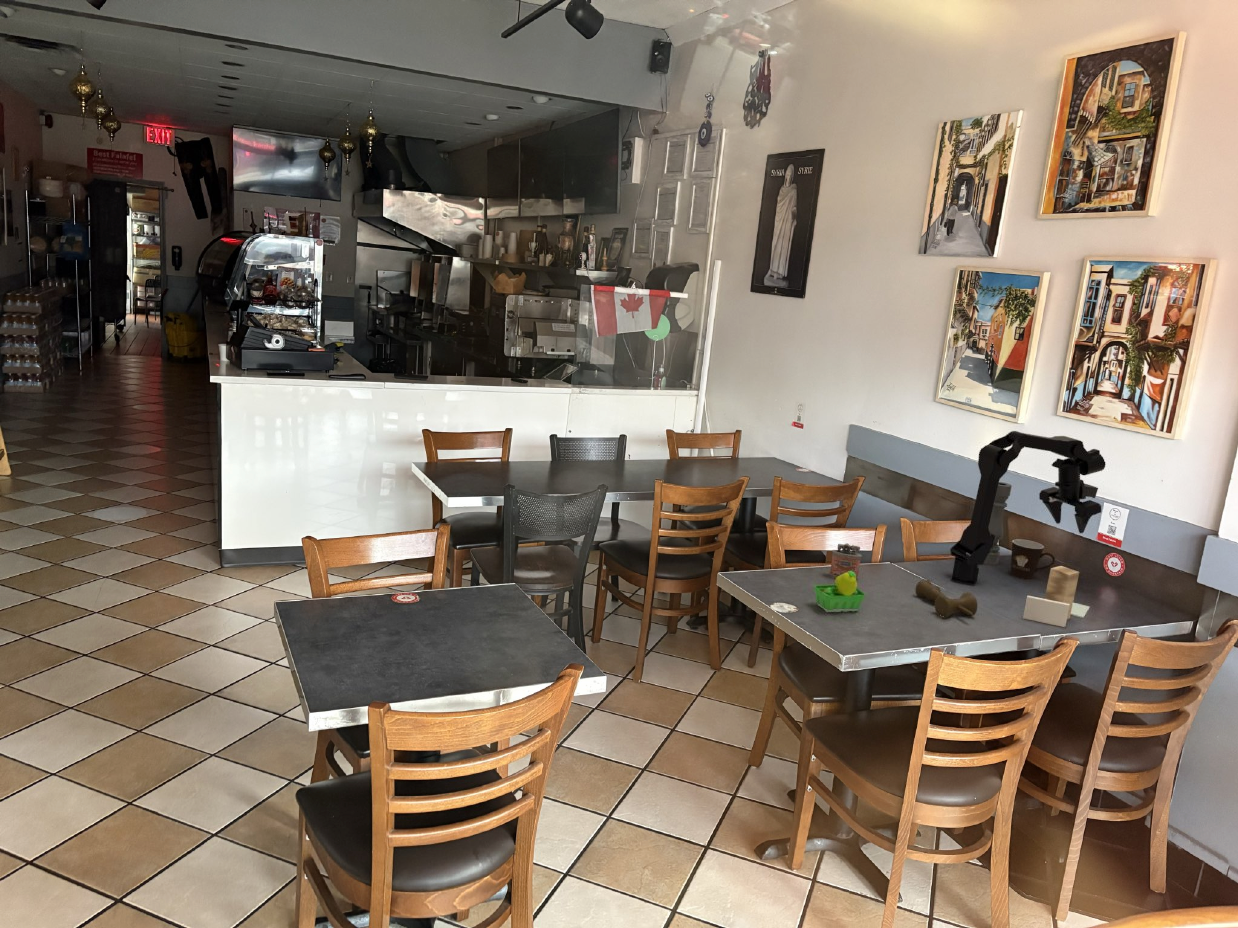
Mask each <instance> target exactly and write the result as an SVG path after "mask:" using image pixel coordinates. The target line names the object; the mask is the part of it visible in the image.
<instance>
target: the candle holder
mask: <svg viewBox="0 0 1238 928" xmlns="http://www.w3.org/2000/svg"><path fill="white" fill-rule="evenodd" d="M1011 491H1012V484H1011V483H1006V482H1001V481H999V484H998V488H997V492H996V497H995V501H994V506H993V510H992V515H991V519H990V523H989V531H990V533H992V534H994V535H995V539H994V541H993V549H991V550H990V553H989V554H988V555H987V557H986V559H985V561H984V563H983V565H990V566H996V565H998V564H999V560H1000V559H999V558H1000V554H1001V553H1000V549H1001V548H1000V546H999V543H1000V541H1001V540H1002V538H1003V537H1004V524H1003V517H1004V513H1005V509H1006V508H1007V506H1008V503H1006V502H1007V500H1009V497H1010V496H1011Z"/></svg>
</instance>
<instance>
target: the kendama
mask: <svg viewBox="0 0 1238 928" xmlns="http://www.w3.org/2000/svg"><path fill="white" fill-rule="evenodd" d="M915 594H916V596H917V597H919V598H926V600H928V601H929V602H933V601H934V608H935V612H936V614H937V613H938V614H939V615H941V616H944V617H945V618H948V617H950V615H952V614H953V613H959V612H960V613H962V614H964V615H966V616H969V615H970V617H971V616H975V615H976V613H977V611H978V601H977V598H976V596H975V595H974V594H972V593H971V592H964V593H962V594H961V596H960V597H959V598H949V597H947V596H946V595H945V594H944V593H942V592H941V588H940V587H939V586H937V585H933V583H932V582H931V580H928V579H922V580H919V581H918V582H917V584H916V586H915ZM938 614H937V615H938ZM939 615H938V616H939ZM941 616H940V617H941Z"/></svg>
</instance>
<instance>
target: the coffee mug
mask: <svg viewBox="0 0 1238 928" xmlns="http://www.w3.org/2000/svg"><path fill="white" fill-rule="evenodd" d="M1011 543H1012V545H1011V557H1010V572H1009V573H1010V575H1011V576H1012V577H1015V578H1017V577H1018V579H1020V578H1024V579H1023V580H1027V579H1030V580H1033V579H1034V577H1035V575H1036V572H1037V571H1041V570H1045V569H1047V568H1050V567H1051V566H1053V565H1054V564H1055V562H1056V558H1055V556H1054V555H1053V554H1051V553H1049V552H1043V551H1044V548H1045V546H1044V545H1043V544H1041V543H1040V542H1036V541H1032V540H1029V539H1020V538H1018V539H1013V540H1011ZM1044 556H1049V557H1050V558H1052V562H1051V563H1050V564H1049V565H1048V564H1047V565H1045V566H1041V567H1038V565H1039V563H1040V560H1041V559H1042V558H1043V557H1044ZM1032 578H1033V579H1032Z"/></svg>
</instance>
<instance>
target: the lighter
mask: <svg viewBox="0 0 1238 928" xmlns="http://www.w3.org/2000/svg"><path fill="white" fill-rule="evenodd" d="M857 552H861V546H859V545H853V544H852V545H850V544H849V543H847V542H846V543H844V544H843V543H838V544H837V549H832V552H831V554H832V556H831V557H832V558H831V562H830V570H829V573H828V576H829V577H830V578H832V579H836V578H837V577H838V576H840V575H842V574H844V573H847V572H848V571H852V572H854V573H855V574H856V582H858V581H859V573H860V564H861V559H862V558H863V557H862V554H861V553H857ZM857 580H858V581H857Z"/></svg>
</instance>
